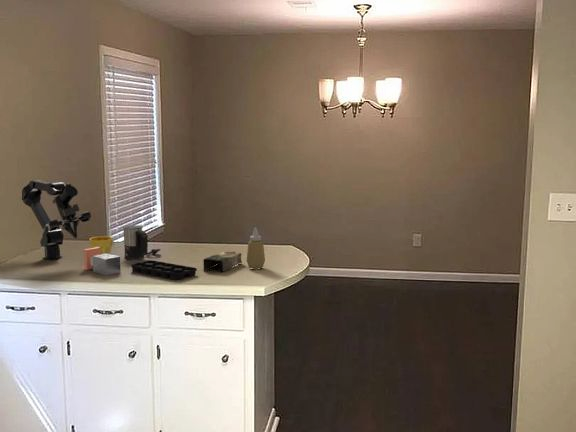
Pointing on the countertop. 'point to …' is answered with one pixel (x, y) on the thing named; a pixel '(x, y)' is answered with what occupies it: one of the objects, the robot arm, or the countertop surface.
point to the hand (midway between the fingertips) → (76, 237)
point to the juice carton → (223, 260)
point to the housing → (106, 264)
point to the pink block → (90, 257)
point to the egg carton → (163, 270)
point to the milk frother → (136, 242)
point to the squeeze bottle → (255, 251)
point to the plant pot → (102, 243)
